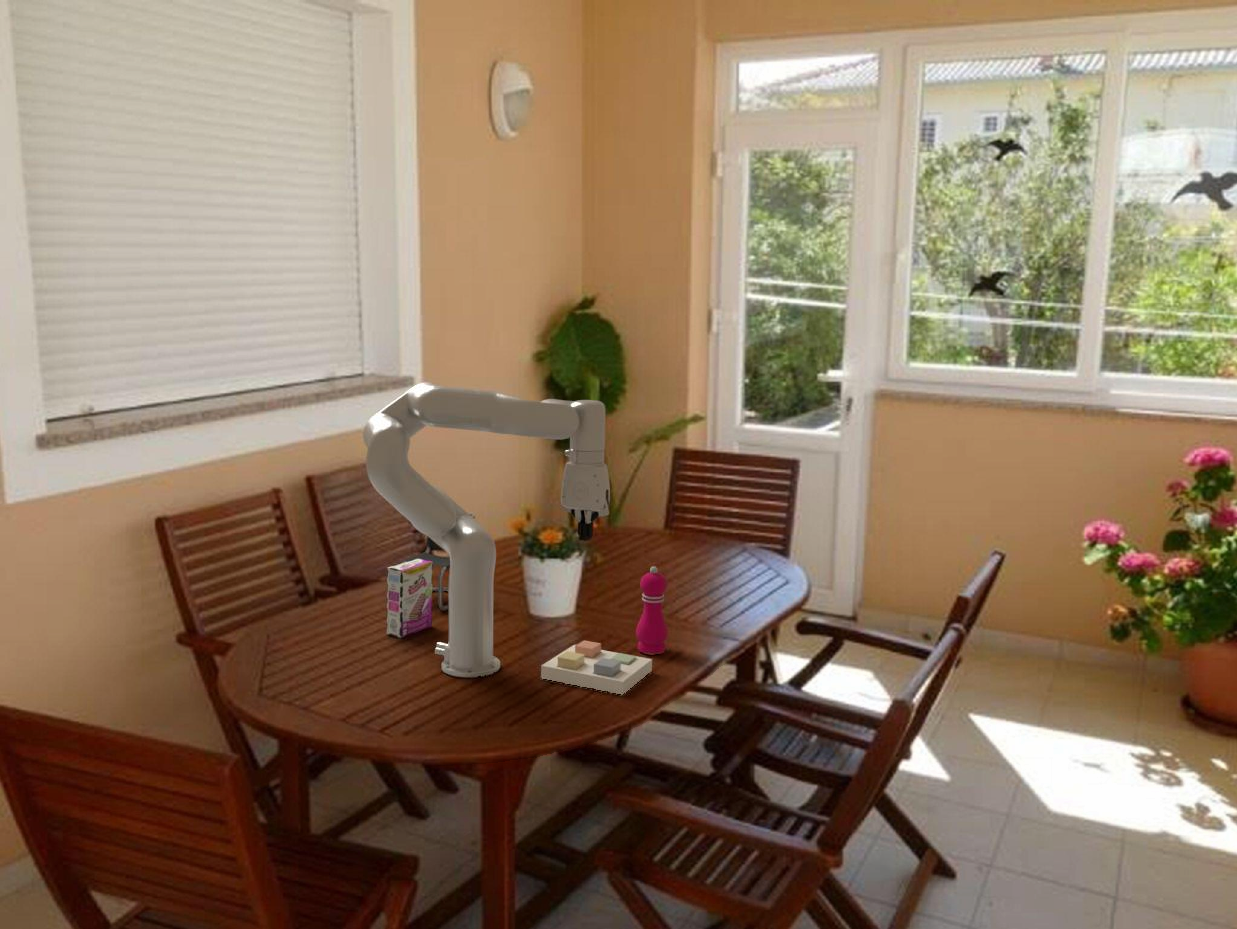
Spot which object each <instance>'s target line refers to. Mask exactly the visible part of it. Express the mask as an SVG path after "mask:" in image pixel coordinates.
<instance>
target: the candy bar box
mask: <svg viewBox="0 0 1237 929" xmlns="http://www.w3.org/2000/svg"><path fill="white" fill-rule="evenodd" d="M401 563H402V562H401ZM401 563H398V564H396V565H392V566H389V567H388V566H387V567H386V635H389V636H392V637H395V638H399V639H402V638H404V637H407V636H408V637H409V635H414V634H415V633H418V632H419V631H423V630H426V629H428V628H431V627H432V626H433V592H432V588H433V569H434V568H433V567H434V566H433V562H432V561H427V560H422V559H415V560H412V561H408V562H405V563H402V564H401Z"/></svg>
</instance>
